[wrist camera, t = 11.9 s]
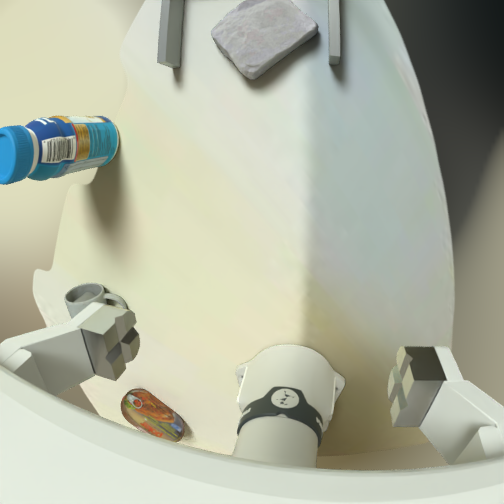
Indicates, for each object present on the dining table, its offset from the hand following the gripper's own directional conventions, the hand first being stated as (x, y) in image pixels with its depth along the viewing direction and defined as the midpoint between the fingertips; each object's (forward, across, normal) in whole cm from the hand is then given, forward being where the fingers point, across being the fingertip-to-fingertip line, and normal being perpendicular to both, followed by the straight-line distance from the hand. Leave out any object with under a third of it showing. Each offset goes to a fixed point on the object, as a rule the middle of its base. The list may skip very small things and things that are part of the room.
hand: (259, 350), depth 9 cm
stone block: (+35, +7, -20) cm, 41 cm away
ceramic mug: (+34, +35, +23) cm, 54 cm away
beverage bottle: (+34, +32, -6) cm, 47 cm away
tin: (+34, +27, +48) cm, 65 cm away
